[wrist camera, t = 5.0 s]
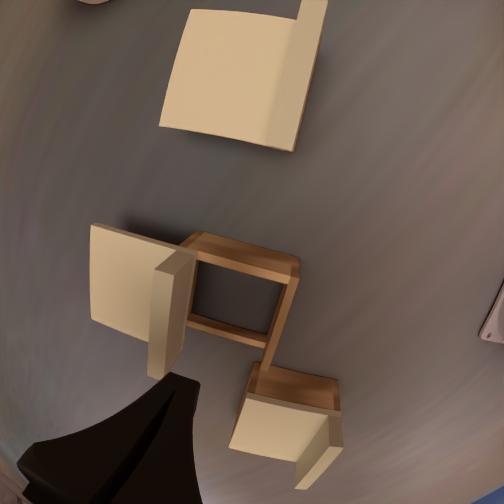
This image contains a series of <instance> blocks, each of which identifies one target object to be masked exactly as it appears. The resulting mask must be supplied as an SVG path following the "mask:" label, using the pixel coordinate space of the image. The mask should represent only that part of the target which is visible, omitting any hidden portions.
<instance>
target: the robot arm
mask: <svg viewBox="0 0 504 504" xmlns="http://www.w3.org/2000/svg"><path fill="white" fill-rule="evenodd" d="M479 336H480V338H481V339H482V340H487V341H492V342H497V343H502V344H504V284H503V286H502V288H501V291H500V293H499V295H498V297H497V300H496V302H495V304H494V306H493V308H492V310H491V312H490V314H489V316H488V318H487V320H486V322H485V324H484V326H483V328H482V329H481V331H480V334H479ZM199 390H200V383H199V382H198V381H195V380H192V379H189V378H186V377H183V376H180V375H178V374H175V373H172V372H169V373H167V374H166V375H165V376H164V377H163V378H162V379H161V380H160V381H159V382H158V383H157V384H155V385H154V386H153V387H152V388H151V389H150V390H148V391H147V392H146V393H145V394H143V395H142V396H141V397H140V398H138V399H137V400H136V401H134V402H133V403H131V404H130V405H128V406H127V407H125V408H124V409H122V410H121V411H119V412H118V413H116V414H114V415H113V416H111V417H109V418H107V419H105V420H104V421H102V422H100V423H97V424H95V425H93V426H91V427H89V428H86V429H84V430H81V431H79V432H76V433H73V434H69V435H66V436H63V437H60V438H56V439H51V440H46V441H41V442H36V443H34V444H33V445H32V446H31V447H29V448H28V449H27V450H26V451H25V453H24V454H23V455H22V457H21V458H20V459H19V460H18V462H17V467H18V468H19V470H20V471H21V472H22V474H23V475H24V476H25V477H26V478H27V480H28V481H29V482H30V483H29V484H28V485H27V487H26V488H25V487H24V486H23V485H21V484H20V483H19V482H18V481H16V480H15V479H14V478H12V477H11V476H10V475H9V474H8V473H7V472H5V471H4V470H3V469H2V468H1V467H0V504H23V502H24V503H26V504H203V503H202V499H201V495H200V491H199V487H198V482H197V477H196V471H195V464H194V454H193V434H192V431H193V417H194V414H195V411H196V406H197V400H198V395H199ZM22 501H23V502H22Z"/></svg>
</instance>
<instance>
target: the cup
mask: <svg viewBox="0 0 504 504" xmlns="http://www.w3.org/2000/svg"><path fill="white" fill-rule="evenodd" d="M78 1H82V2H85V3H89V4H100V3H103V2H106V1H109V0H78Z"/></svg>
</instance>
